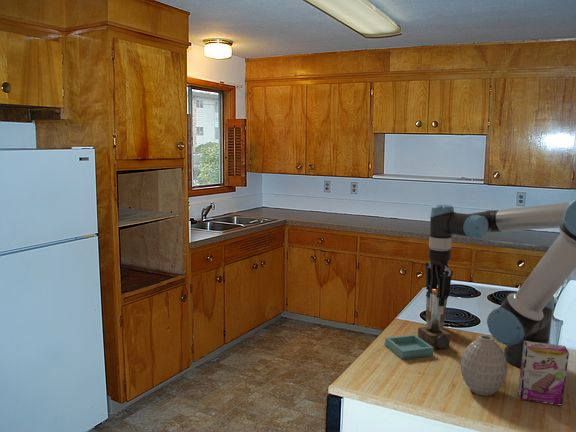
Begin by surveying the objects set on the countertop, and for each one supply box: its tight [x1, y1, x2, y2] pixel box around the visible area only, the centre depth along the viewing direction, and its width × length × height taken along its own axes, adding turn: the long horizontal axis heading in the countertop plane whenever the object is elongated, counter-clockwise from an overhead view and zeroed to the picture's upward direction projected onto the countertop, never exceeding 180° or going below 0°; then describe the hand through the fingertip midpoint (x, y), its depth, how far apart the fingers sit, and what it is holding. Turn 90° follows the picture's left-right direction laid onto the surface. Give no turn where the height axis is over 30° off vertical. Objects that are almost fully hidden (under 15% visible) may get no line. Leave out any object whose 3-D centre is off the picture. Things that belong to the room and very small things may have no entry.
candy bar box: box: [517, 341, 570, 405], centre depth 146 cm, size 11×5×16 cm, turn 74°
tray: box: [384, 334, 435, 361], centre depth 178 cm, size 12×12×3 cm
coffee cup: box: [425, 290, 449, 329], centre depth 200 cm, size 8×8×15 cm
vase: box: [460, 334, 508, 397], centre depth 150 cm, size 13×13×17 cm
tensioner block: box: [417, 326, 451, 350], centre depth 184 cm, size 10×8×5 cm
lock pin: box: [431, 287, 441, 332], centre depth 183 cm, size 4×4×15 cm
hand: (436, 312), depth 183 cm, fingers closed on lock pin, 3 cm apart
